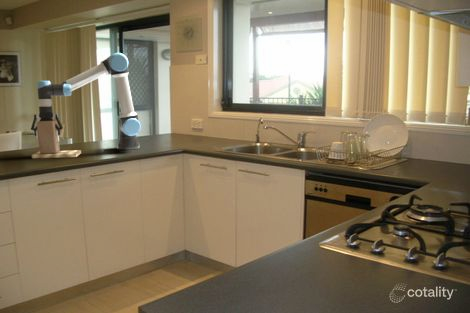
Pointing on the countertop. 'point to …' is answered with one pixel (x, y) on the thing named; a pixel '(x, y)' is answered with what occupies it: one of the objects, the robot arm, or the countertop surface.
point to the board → (58, 154)
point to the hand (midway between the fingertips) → (48, 141)
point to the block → (47, 137)
